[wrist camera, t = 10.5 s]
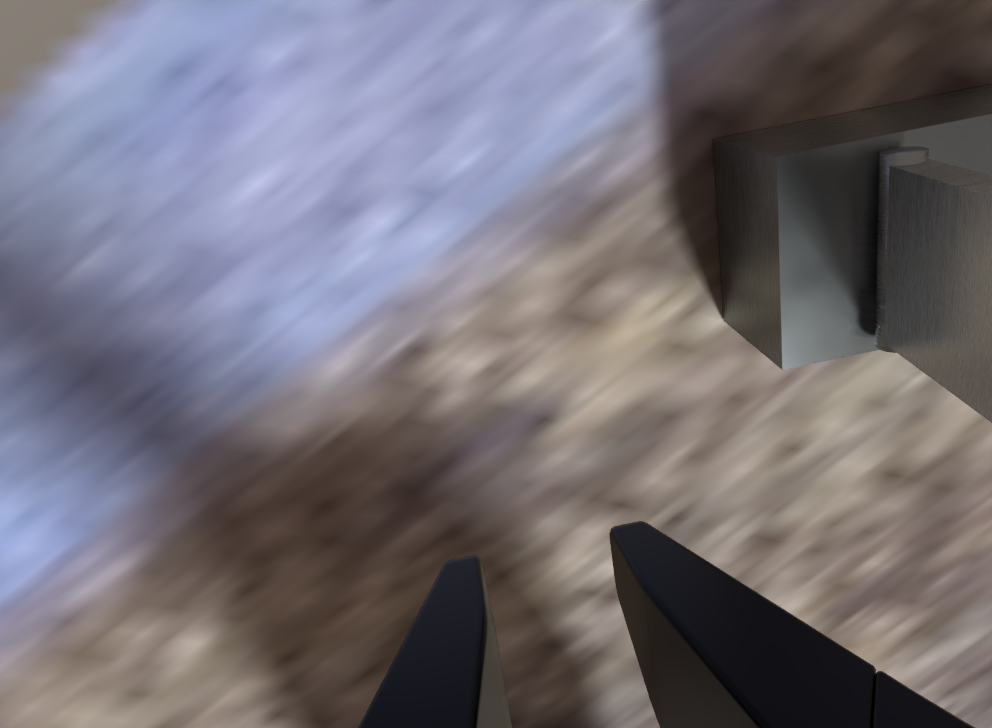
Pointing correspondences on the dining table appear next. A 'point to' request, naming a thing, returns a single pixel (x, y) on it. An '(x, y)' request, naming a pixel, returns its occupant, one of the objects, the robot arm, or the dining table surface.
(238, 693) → the dining table surface
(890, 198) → the keeper flap
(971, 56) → the dining table surface
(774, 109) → the dining table surface
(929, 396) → the dining table surface
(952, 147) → the hitch bar
